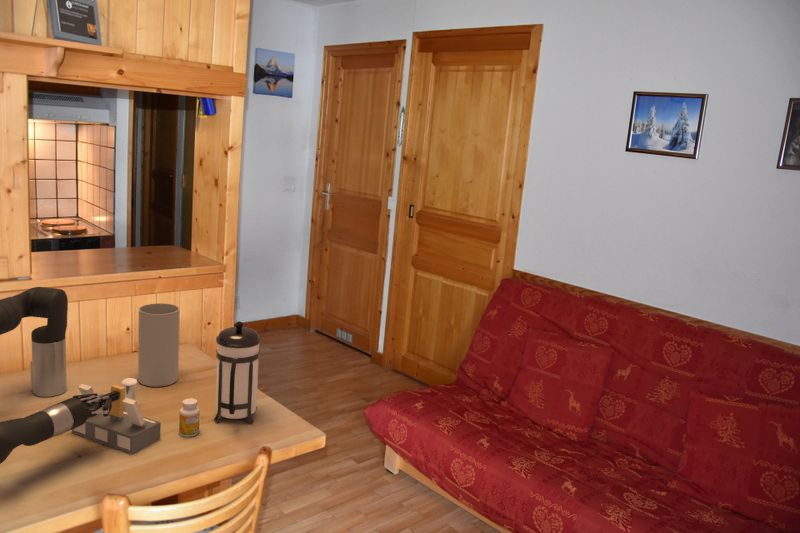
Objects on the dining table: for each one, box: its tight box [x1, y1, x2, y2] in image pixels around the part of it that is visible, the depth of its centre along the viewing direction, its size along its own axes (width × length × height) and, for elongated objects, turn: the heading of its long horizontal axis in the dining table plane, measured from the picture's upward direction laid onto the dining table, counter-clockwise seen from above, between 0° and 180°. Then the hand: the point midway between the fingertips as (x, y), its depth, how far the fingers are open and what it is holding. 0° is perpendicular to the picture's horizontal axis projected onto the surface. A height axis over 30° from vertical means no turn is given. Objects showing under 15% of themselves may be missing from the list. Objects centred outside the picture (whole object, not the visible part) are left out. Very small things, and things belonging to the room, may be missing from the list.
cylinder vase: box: [137, 302, 180, 388], centre depth 216 cm, size 12×12×25 cm
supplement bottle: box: [178, 397, 201, 438], centre depth 185 cm, size 5×5×10 cm
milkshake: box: [120, 377, 139, 410], centre depth 197 cm, size 4×5×10 cm
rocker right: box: [122, 398, 146, 428], centre depth 174 cm, size 4×1×9 cm, turn 67°
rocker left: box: [77, 383, 95, 395], centre depth 180 cm, size 4×1×9 cm, turn 67°
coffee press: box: [213, 321, 262, 425], centre depth 194 cm, size 17×16×30 cm
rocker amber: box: [109, 384, 125, 420], centre depth 179 cm, size 4×1×9 cm, turn 67°
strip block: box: [71, 410, 162, 455], centre depth 180 cm, size 22×10×5 cm, turn 67°
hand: (117, 394), depth 178 cm, fingers closed
